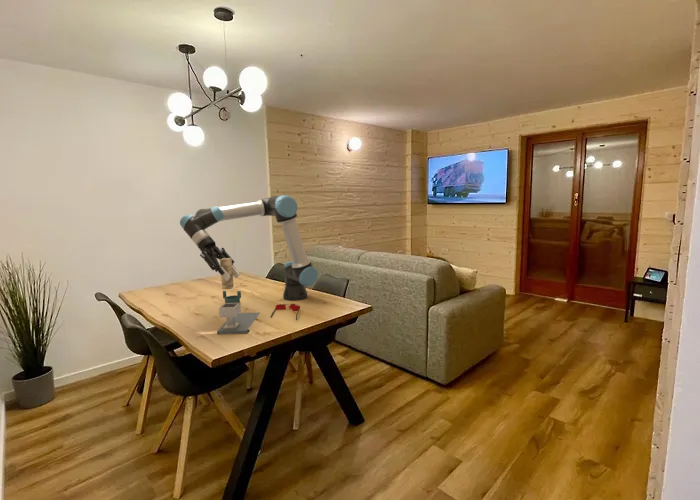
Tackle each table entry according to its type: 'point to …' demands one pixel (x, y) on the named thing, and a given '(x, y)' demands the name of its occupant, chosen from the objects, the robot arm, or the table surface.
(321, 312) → the table surface
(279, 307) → the glasses
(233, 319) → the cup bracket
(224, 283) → the light brown tall block
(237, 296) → the bracket
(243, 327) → the board
